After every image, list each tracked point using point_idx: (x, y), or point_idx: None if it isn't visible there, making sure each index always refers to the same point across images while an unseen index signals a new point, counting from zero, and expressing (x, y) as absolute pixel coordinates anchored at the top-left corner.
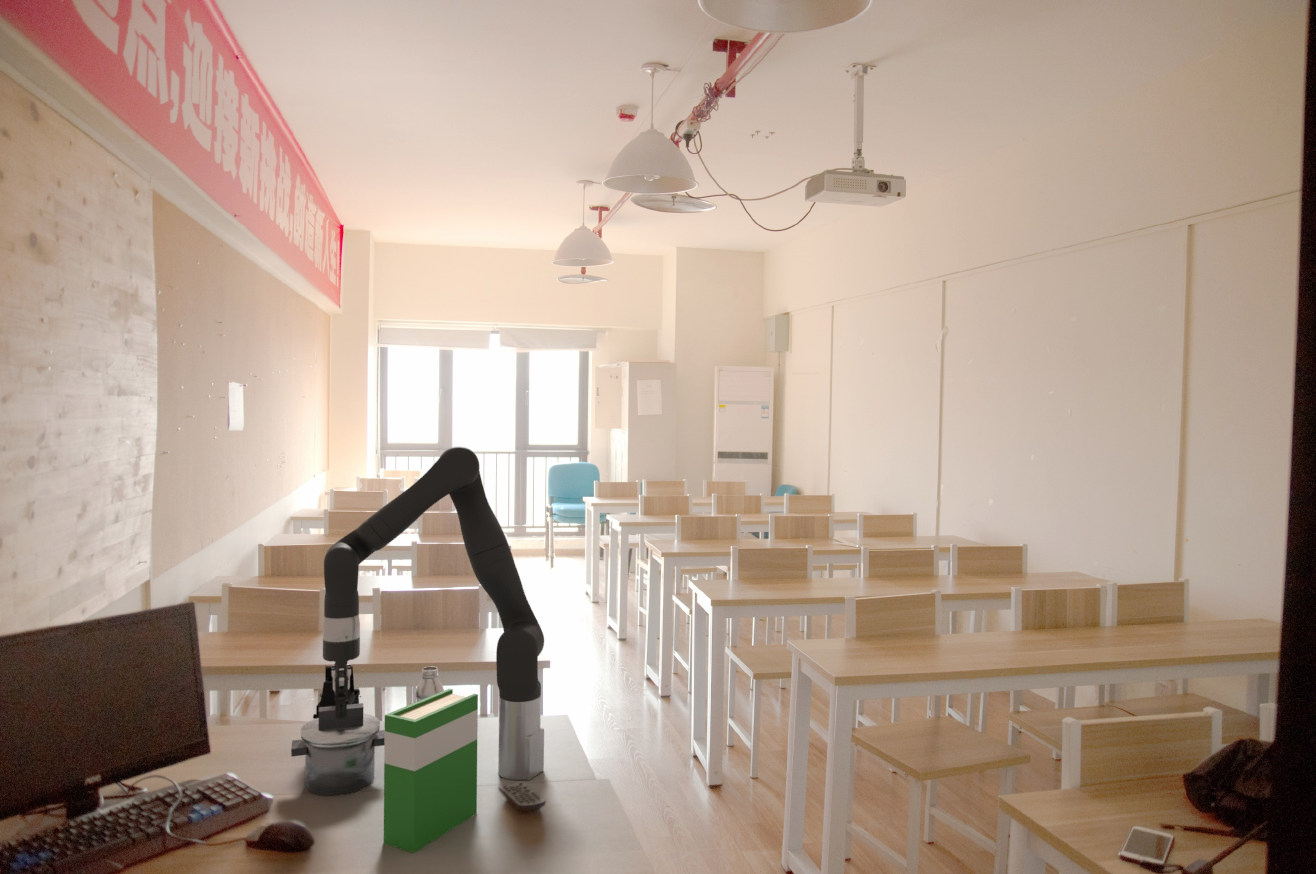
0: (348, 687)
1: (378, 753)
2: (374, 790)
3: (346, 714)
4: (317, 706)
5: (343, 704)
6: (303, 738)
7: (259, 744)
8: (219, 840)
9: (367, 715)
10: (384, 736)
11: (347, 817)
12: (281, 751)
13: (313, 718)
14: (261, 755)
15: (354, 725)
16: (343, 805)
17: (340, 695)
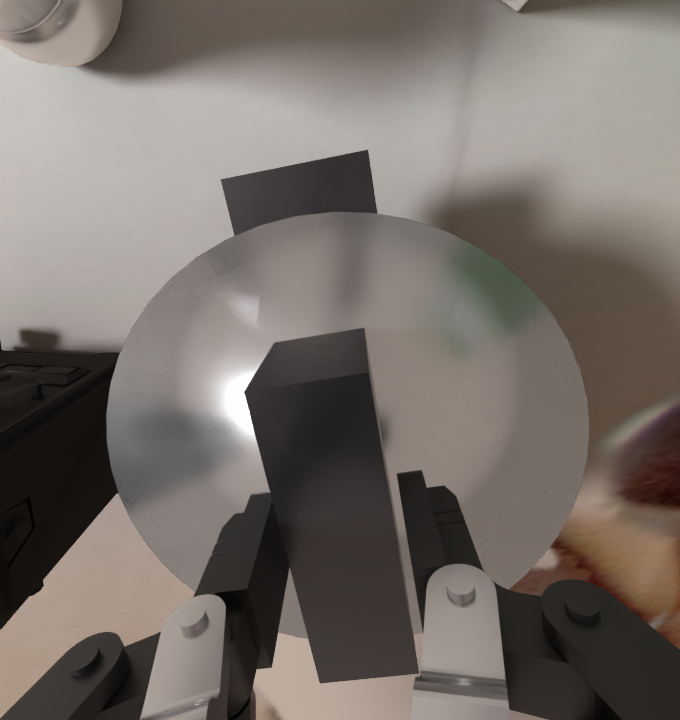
0: (506, 715)
1: (86, 250)
2: (450, 217)
3: (422, 479)
4: (3, 622)
5: (482, 569)
6: None
7: (26, 629)
8: (667, 590)
9: (155, 326)
10: (343, 179)
11: (655, 283)
12: (78, 567)
13: (42, 582)
14: (111, 609)
15: (373, 384)
16: (551, 312)
17: (604, 706)
